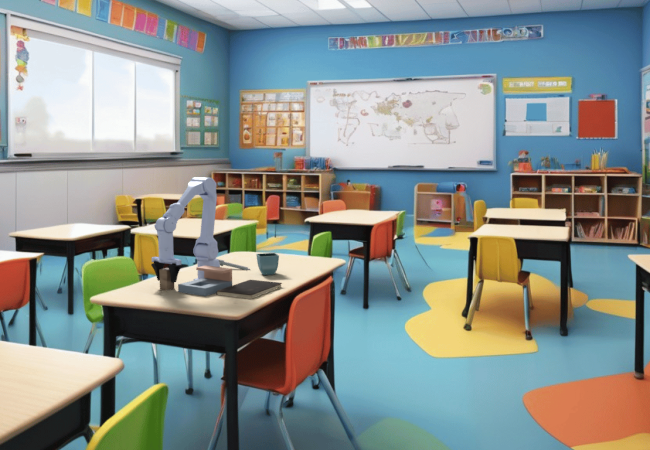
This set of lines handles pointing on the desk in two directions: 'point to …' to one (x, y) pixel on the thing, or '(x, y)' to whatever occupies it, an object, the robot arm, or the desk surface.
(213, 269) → the salmon pink block
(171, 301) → the desk surface
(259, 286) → the hardcover book
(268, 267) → the flower pot
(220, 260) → the caliper
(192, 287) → the socket block
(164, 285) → the walnut peg
